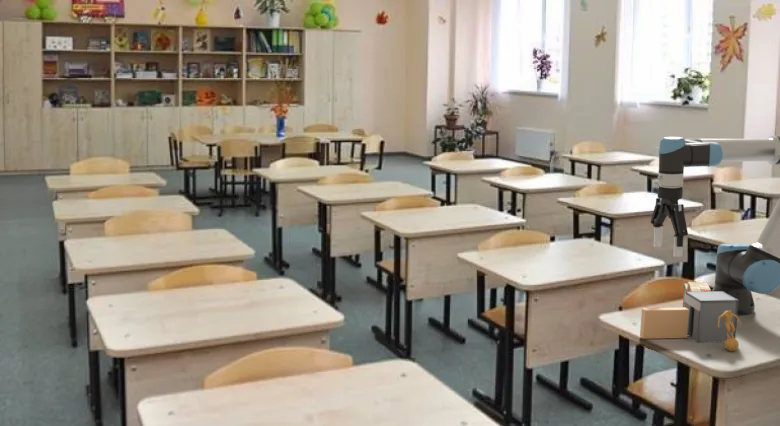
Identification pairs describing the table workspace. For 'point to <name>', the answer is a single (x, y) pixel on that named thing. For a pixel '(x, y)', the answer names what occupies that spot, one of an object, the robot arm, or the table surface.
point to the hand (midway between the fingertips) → (667, 251)
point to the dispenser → (709, 315)
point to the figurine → (729, 343)
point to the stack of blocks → (695, 288)
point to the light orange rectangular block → (664, 322)
